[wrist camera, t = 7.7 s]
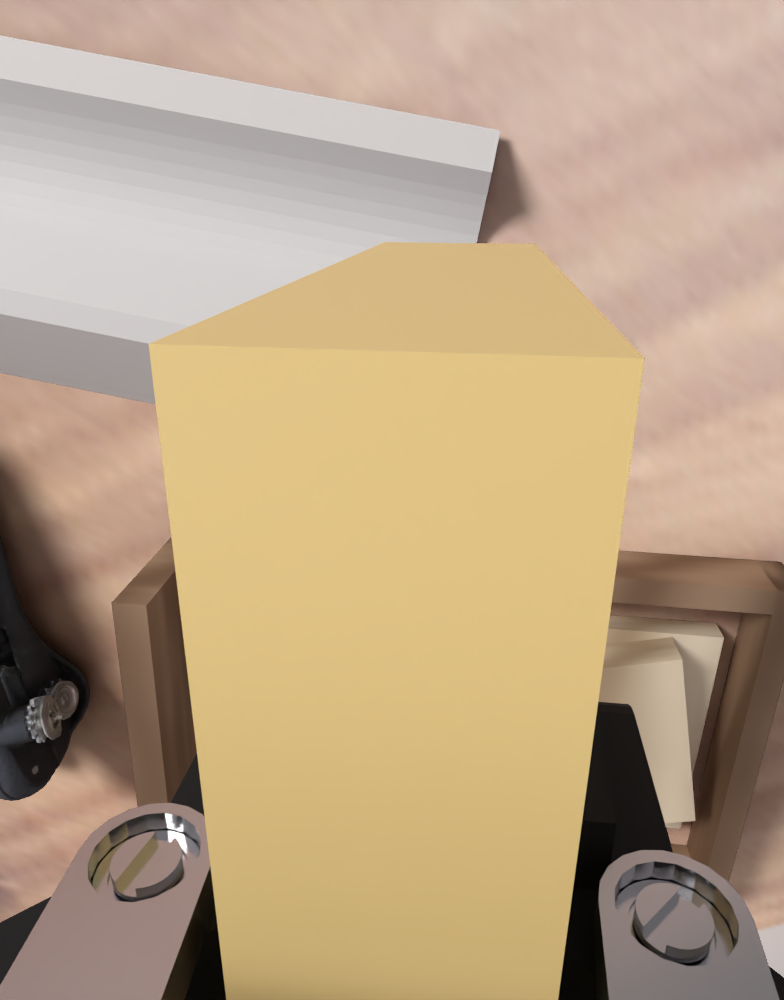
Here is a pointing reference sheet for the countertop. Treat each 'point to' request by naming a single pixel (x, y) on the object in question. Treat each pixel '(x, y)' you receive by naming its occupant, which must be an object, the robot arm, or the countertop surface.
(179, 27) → the countertop surface
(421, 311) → the panel
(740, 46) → the countertop surface
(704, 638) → the offcut lower
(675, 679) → the offcut upper
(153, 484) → the countertop surface
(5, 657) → the can opener
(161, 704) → the rack
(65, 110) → the crown molding
